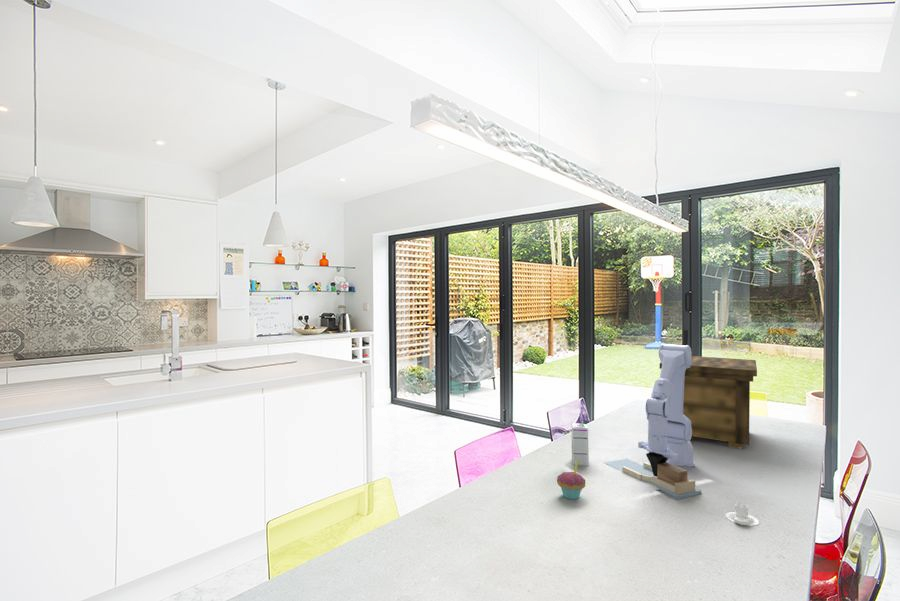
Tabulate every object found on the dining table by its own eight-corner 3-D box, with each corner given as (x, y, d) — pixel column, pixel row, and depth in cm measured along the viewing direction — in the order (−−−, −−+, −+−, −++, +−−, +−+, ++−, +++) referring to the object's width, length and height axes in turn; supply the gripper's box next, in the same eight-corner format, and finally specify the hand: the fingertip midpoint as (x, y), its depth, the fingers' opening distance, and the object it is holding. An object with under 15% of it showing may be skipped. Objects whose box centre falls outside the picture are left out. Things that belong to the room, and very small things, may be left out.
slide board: (626, 461, 174) (626, 450, 174) (701, 493, 146) (701, 480, 146) (603, 465, 170) (603, 454, 170) (676, 499, 141) (676, 486, 141)
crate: (659, 438, 201) (659, 363, 201) (670, 420, 231) (670, 354, 230) (756, 453, 182) (757, 370, 182) (754, 431, 212) (755, 360, 212)
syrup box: (589, 468, 167) (589, 427, 167) (571, 467, 168) (572, 426, 168) (587, 462, 172) (587, 423, 172) (571, 461, 174) (571, 422, 173)
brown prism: (666, 480, 153) (666, 462, 153) (687, 489, 146) (687, 470, 146) (657, 482, 152) (657, 464, 152) (678, 491, 144) (678, 472, 144)
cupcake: (586, 492, 146) (586, 454, 146) (584, 504, 138) (584, 463, 138) (558, 488, 149) (558, 451, 149) (555, 499, 141) (555, 460, 141)
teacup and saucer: (746, 530, 124) (746, 515, 124) (717, 518, 131) (717, 503, 131) (765, 523, 128) (765, 508, 128) (736, 511, 135) (736, 497, 135)
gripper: (631, 430, 159) (631, 469, 159) (667, 442, 146) (666, 485, 146) (647, 427, 162) (646, 466, 162) (683, 439, 149) (682, 482, 149)
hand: (657, 475), depth 154 cm, fingers closed
